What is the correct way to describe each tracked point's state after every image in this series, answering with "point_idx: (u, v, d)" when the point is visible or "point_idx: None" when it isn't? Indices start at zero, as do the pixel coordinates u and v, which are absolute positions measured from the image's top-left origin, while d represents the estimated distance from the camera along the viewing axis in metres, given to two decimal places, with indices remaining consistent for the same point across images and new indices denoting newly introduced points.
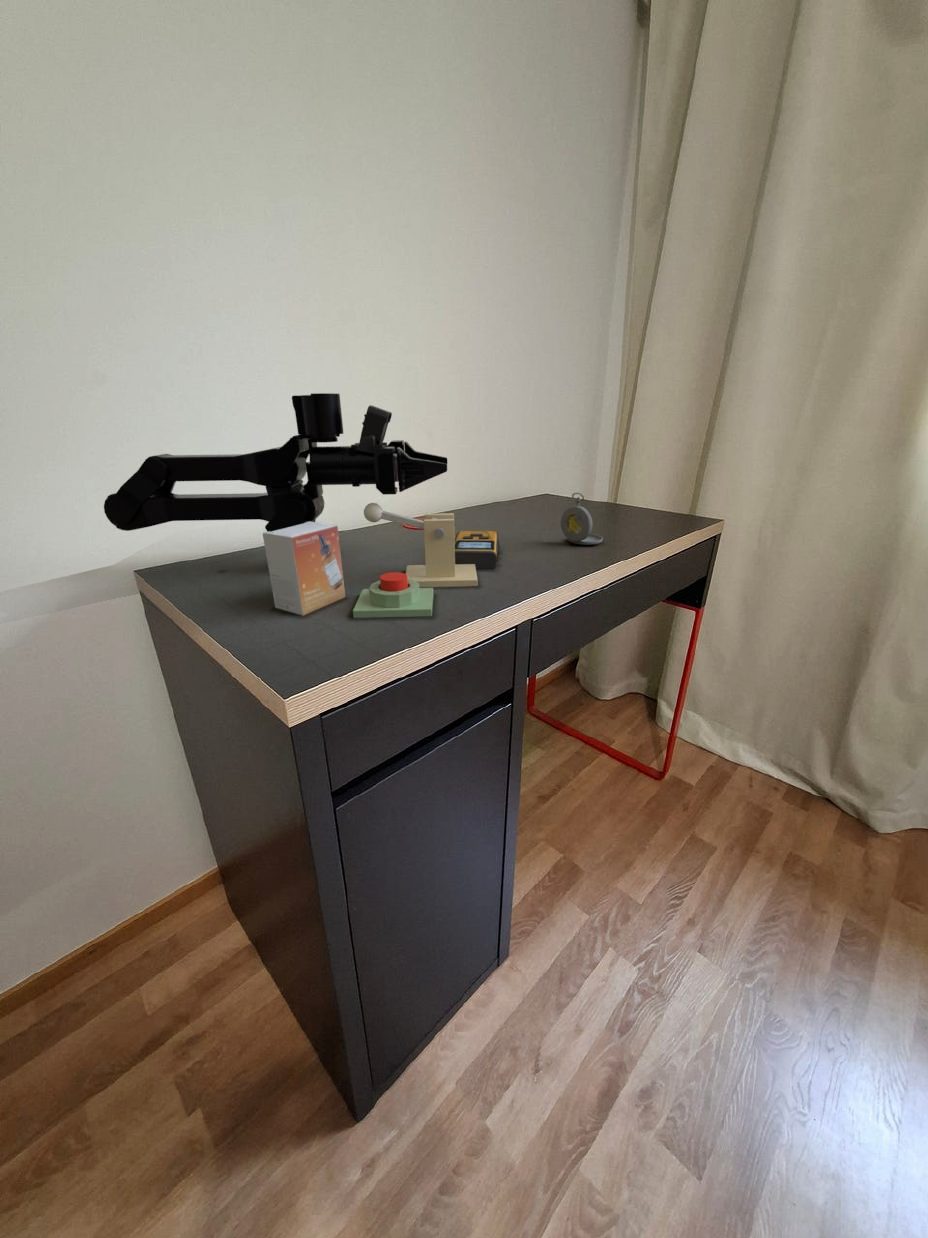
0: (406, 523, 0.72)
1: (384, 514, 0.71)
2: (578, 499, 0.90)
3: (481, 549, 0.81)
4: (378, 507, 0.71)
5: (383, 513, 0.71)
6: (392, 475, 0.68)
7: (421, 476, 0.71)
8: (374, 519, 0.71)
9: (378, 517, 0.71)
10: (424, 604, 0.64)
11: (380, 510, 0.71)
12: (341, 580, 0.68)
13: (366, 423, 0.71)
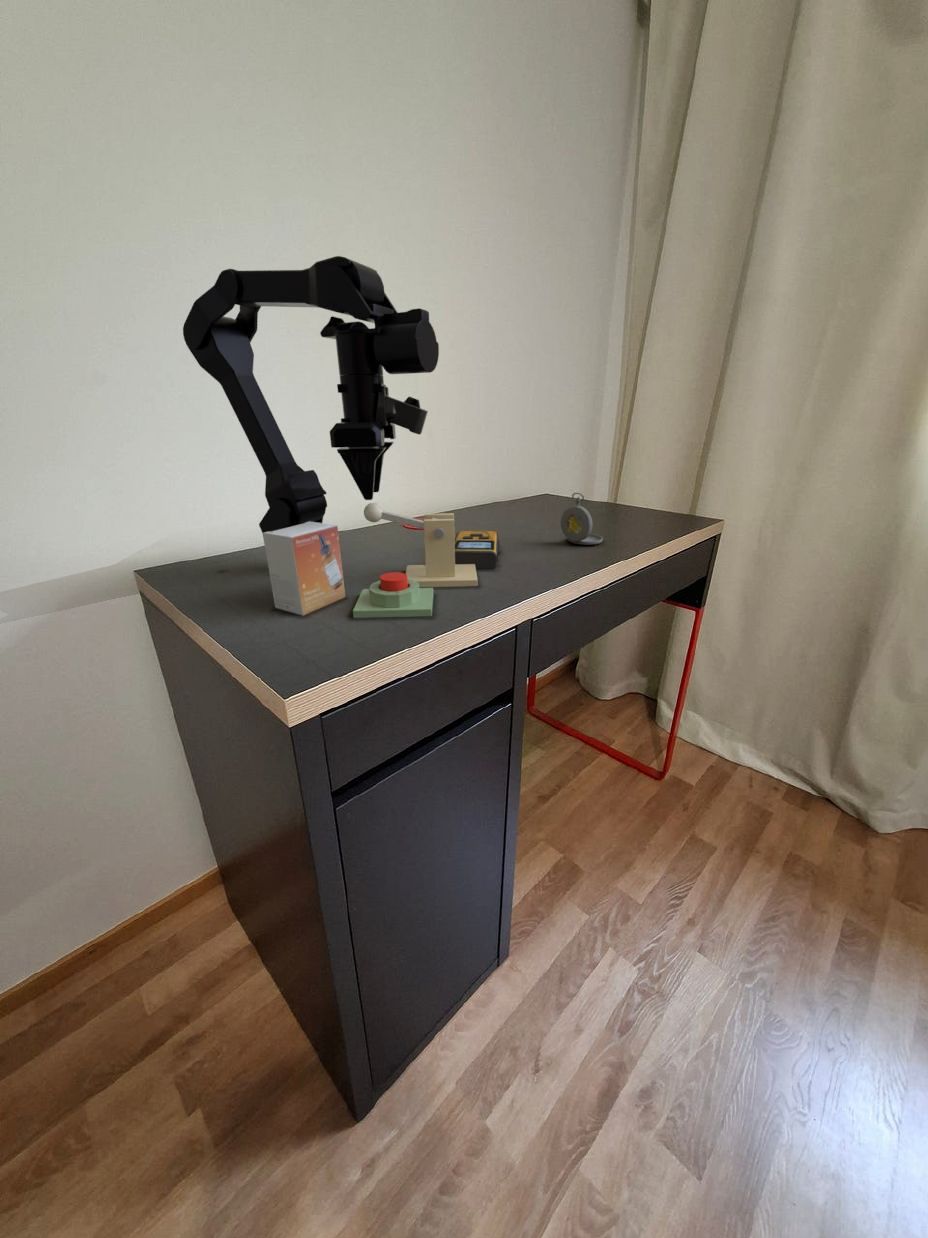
0: (406, 523, 0.72)
1: (384, 514, 0.71)
2: (578, 499, 0.90)
3: (481, 549, 0.81)
4: (378, 507, 0.71)
5: (383, 513, 0.71)
6: (352, 445, 0.59)
7: (356, 472, 0.65)
8: (374, 519, 0.71)
9: (378, 517, 0.71)
10: (424, 604, 0.64)
11: (380, 510, 0.71)
12: (341, 580, 0.68)
13: (408, 407, 0.64)
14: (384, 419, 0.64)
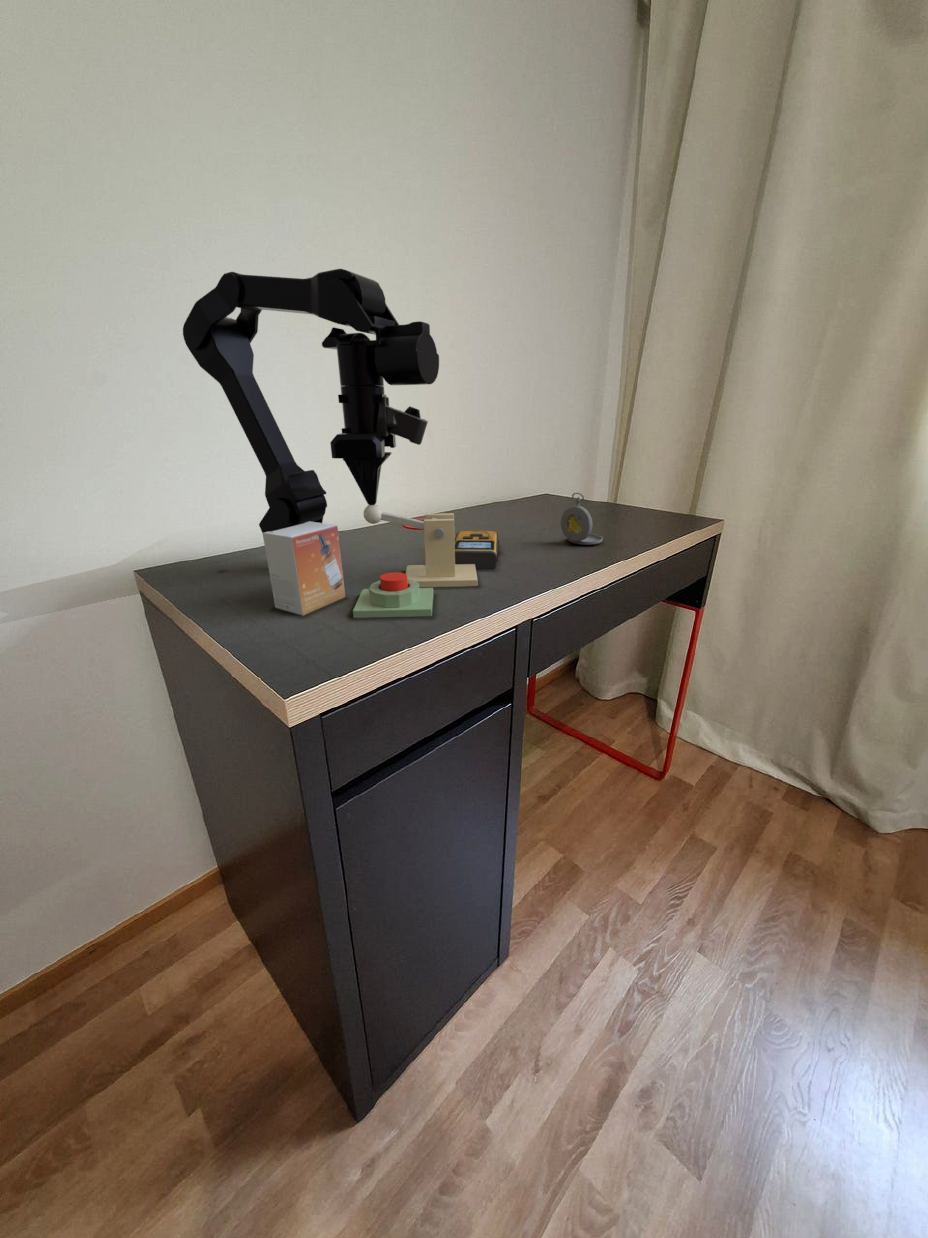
0: (406, 524, 0.72)
1: (384, 516, 0.72)
2: (578, 499, 0.90)
3: (481, 549, 0.81)
4: (377, 508, 0.71)
5: (383, 514, 0.71)
6: (352, 456, 0.60)
7: (360, 479, 0.69)
8: (374, 520, 0.71)
9: (378, 518, 0.71)
10: (424, 604, 0.64)
11: (380, 511, 0.71)
12: (341, 580, 0.68)
13: (408, 418, 0.65)
14: (384, 429, 0.65)
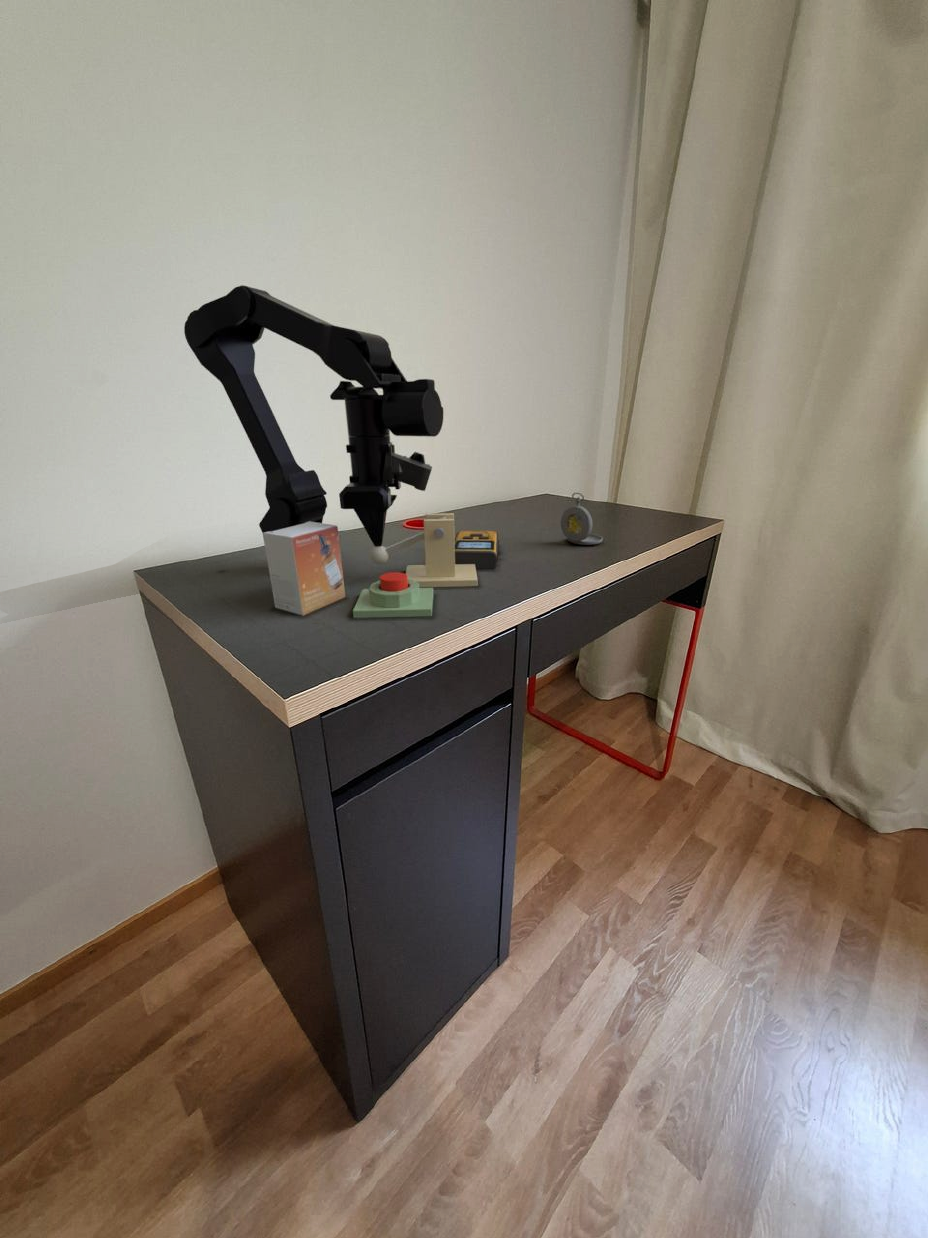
0: (410, 544, 0.73)
1: (388, 550, 0.74)
2: (578, 499, 0.90)
3: (481, 549, 0.81)
4: (379, 547, 0.73)
5: (387, 549, 0.74)
6: (360, 506, 0.62)
7: (367, 523, 0.71)
8: (383, 559, 0.74)
9: (385, 555, 0.73)
10: (424, 604, 0.64)
11: (383, 549, 0.73)
12: (341, 580, 0.68)
13: (413, 466, 0.67)
14: (391, 478, 0.67)
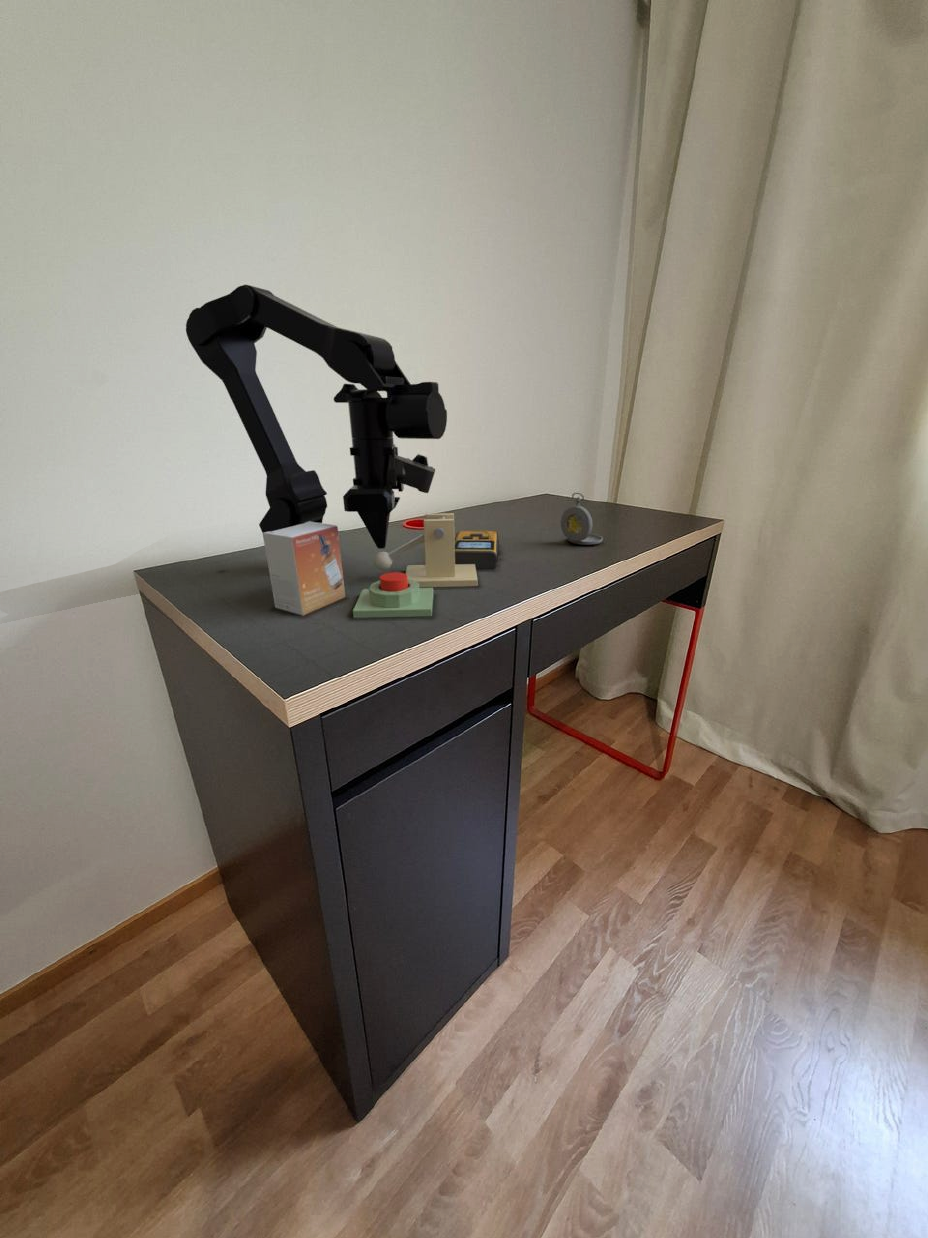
0: (412, 547, 0.74)
1: (391, 555, 0.74)
2: (578, 499, 0.90)
3: (481, 549, 0.81)
4: (382, 554, 0.74)
5: (389, 555, 0.74)
6: (364, 509, 0.62)
7: (370, 525, 0.71)
8: (387, 565, 0.74)
9: (388, 560, 0.74)
10: (424, 604, 0.64)
11: (385, 554, 0.74)
12: (341, 580, 0.68)
13: (417, 469, 0.67)
14: (394, 480, 0.67)
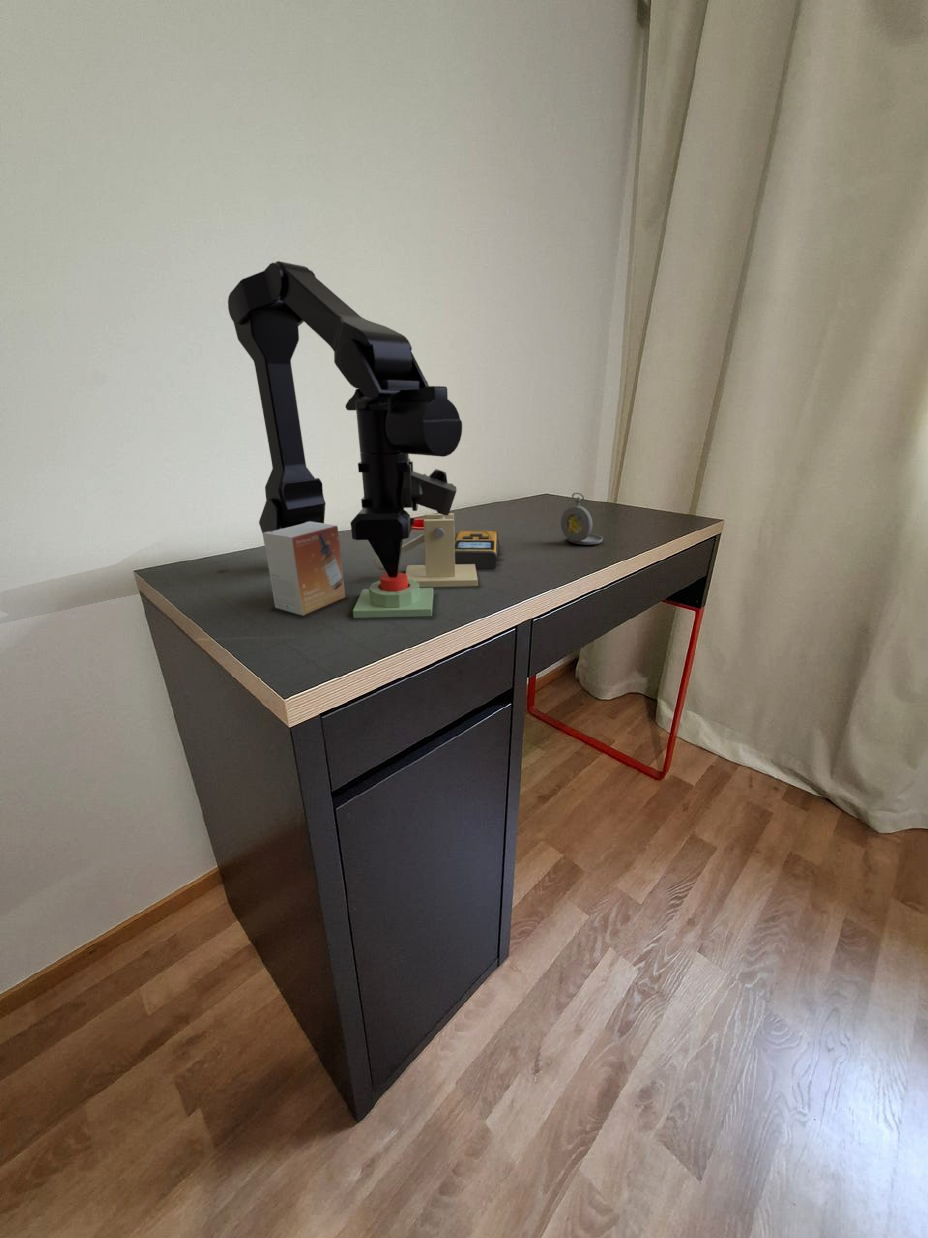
0: (412, 547, 0.74)
1: None
2: (578, 499, 0.90)
3: (481, 549, 0.81)
4: None
5: None
6: (375, 537, 0.53)
7: (381, 551, 0.61)
8: None
9: None
10: (424, 604, 0.64)
11: None
12: (341, 580, 0.68)
13: (436, 488, 0.58)
14: (409, 501, 0.58)
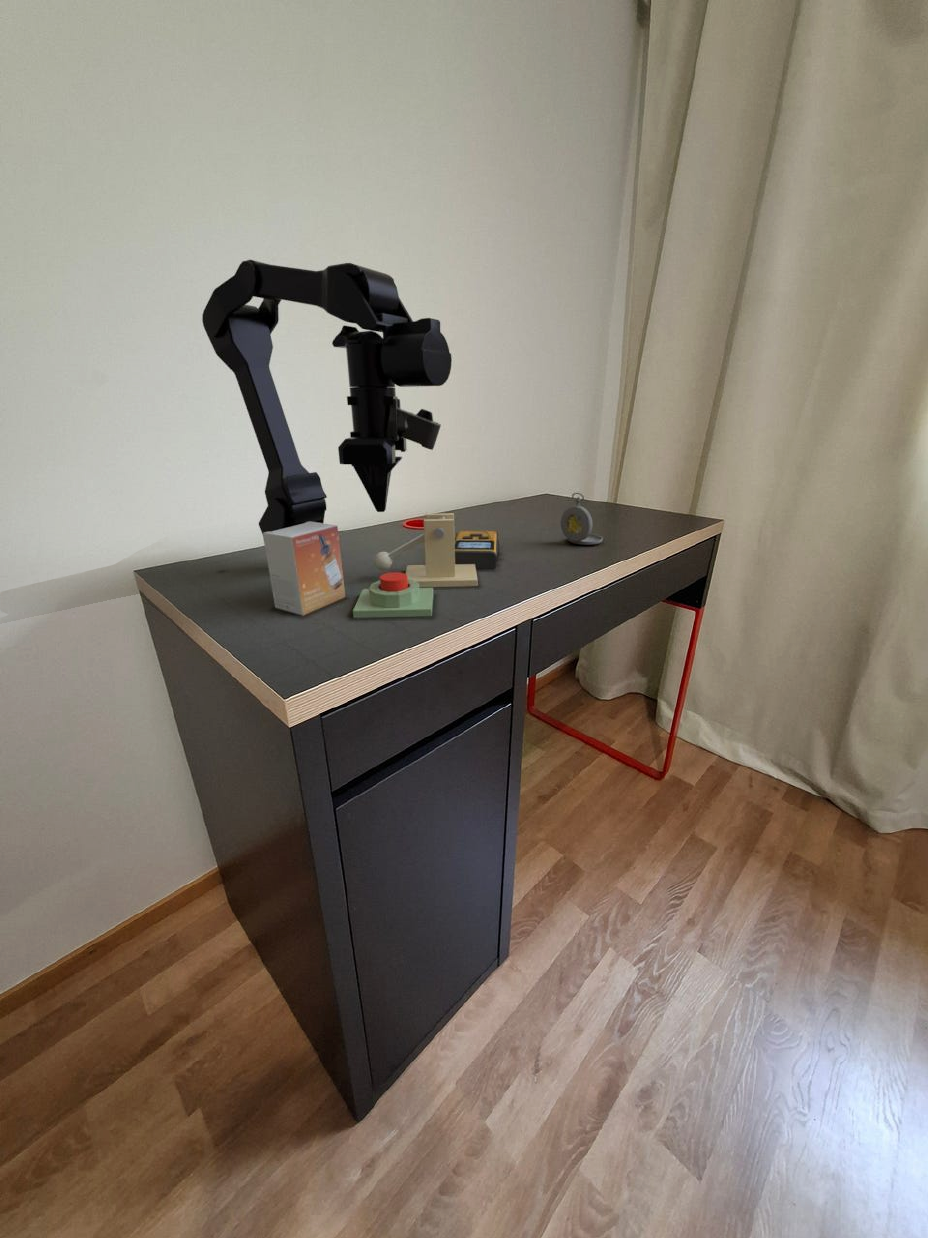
0: (412, 547, 0.74)
1: (391, 555, 0.74)
2: (578, 499, 0.90)
3: (481, 549, 0.81)
4: (382, 554, 0.74)
5: (389, 555, 0.74)
6: (361, 462, 0.56)
7: (369, 485, 0.65)
8: (387, 565, 0.74)
9: (388, 560, 0.74)
10: (424, 604, 0.64)
11: (385, 554, 0.74)
12: (341, 580, 0.68)
13: (420, 421, 0.61)
14: (395, 433, 0.61)
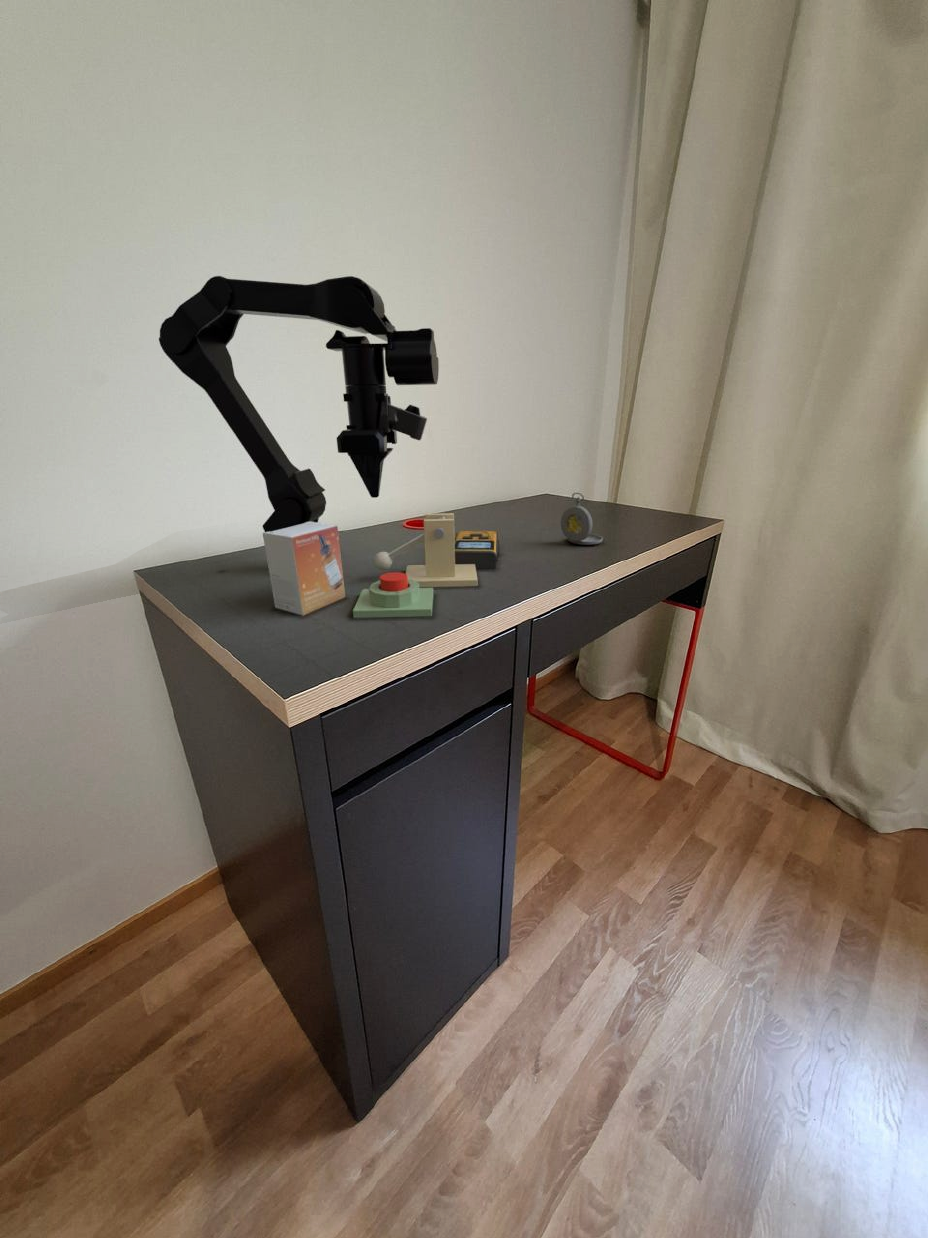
0: (412, 547, 0.74)
1: (391, 555, 0.74)
2: (578, 499, 0.90)
3: (481, 549, 0.81)
4: (382, 554, 0.74)
5: (389, 555, 0.74)
6: (357, 450, 0.64)
7: (364, 473, 0.73)
8: (387, 565, 0.74)
9: (388, 560, 0.74)
10: (424, 604, 0.64)
11: (385, 554, 0.74)
12: (341, 580, 0.68)
13: (408, 415, 0.69)
14: (387, 426, 0.69)
